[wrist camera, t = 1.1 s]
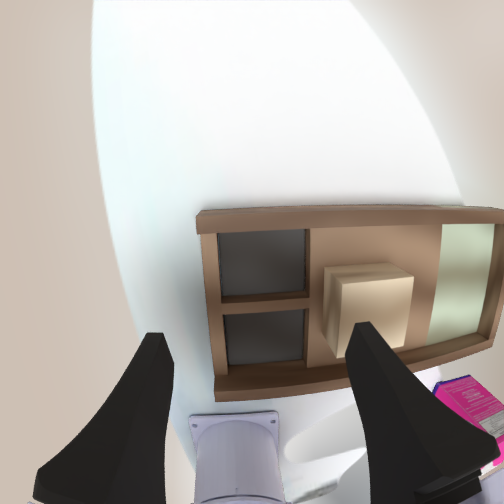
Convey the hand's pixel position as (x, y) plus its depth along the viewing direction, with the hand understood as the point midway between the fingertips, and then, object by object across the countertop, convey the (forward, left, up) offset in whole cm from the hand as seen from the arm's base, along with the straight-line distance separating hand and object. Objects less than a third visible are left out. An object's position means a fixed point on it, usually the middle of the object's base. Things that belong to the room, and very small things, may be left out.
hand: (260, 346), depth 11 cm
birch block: (-2, -8, -9) cm, 12 cm away
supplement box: (-17, -22, -11) cm, 30 cm away
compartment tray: (-2, -10, -11) cm, 15 cm away
